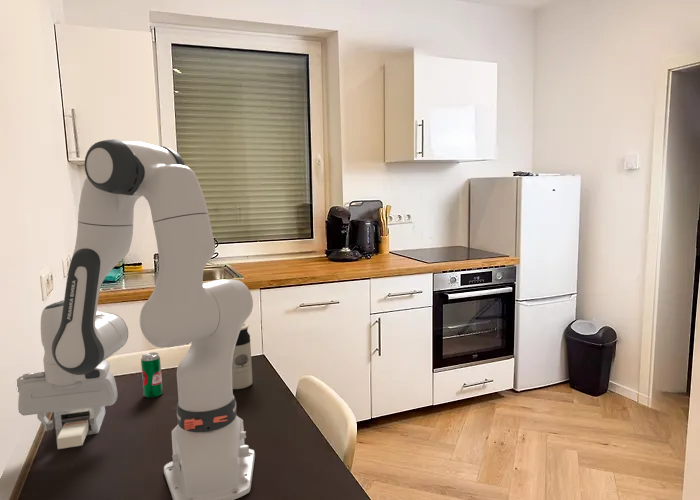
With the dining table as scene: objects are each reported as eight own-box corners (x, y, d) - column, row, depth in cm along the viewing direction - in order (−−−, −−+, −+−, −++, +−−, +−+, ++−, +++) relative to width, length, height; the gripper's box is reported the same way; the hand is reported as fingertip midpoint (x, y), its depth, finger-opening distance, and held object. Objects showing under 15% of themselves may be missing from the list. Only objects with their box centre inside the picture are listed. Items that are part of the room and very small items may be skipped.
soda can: (156, 399, 146) (153, 358, 145) (140, 398, 147) (136, 357, 146) (166, 392, 151) (163, 352, 149) (150, 391, 152) (147, 351, 150)
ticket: (82, 445, 118) (81, 434, 118) (57, 449, 117) (56, 438, 117) (94, 415, 134) (93, 406, 133) (72, 418, 132) (71, 409, 132)
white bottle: (224, 381, 158) (220, 324, 155) (250, 378, 160) (247, 321, 158) (226, 391, 150) (222, 331, 148) (254, 387, 153) (250, 328, 150)
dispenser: (98, 433, 127) (95, 405, 126) (56, 439, 124) (53, 411, 123) (105, 412, 138) (103, 387, 137) (67, 418, 136) (65, 392, 135)
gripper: (10, 380, 114) (16, 439, 116) (112, 369, 119) (116, 426, 121) (19, 369, 120) (25, 426, 122) (116, 360, 125) (120, 414, 127)
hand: (71, 426), depth 121 cm, fingers open, 8 cm apart
